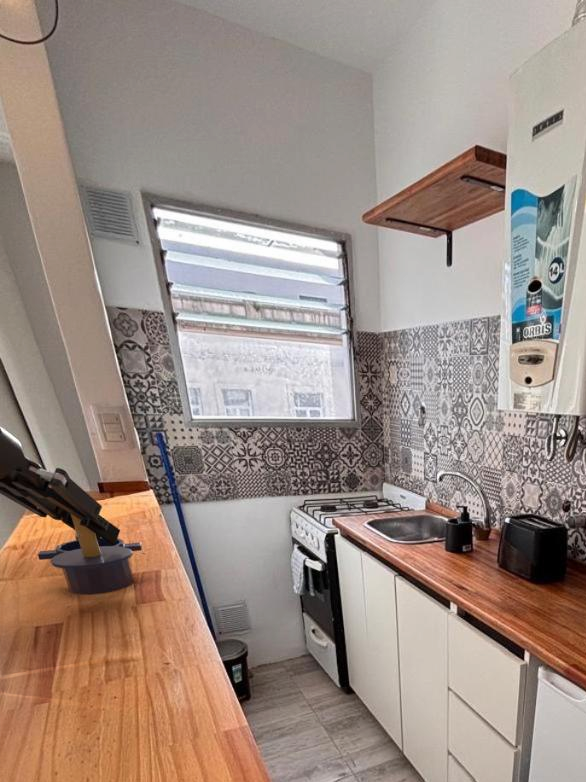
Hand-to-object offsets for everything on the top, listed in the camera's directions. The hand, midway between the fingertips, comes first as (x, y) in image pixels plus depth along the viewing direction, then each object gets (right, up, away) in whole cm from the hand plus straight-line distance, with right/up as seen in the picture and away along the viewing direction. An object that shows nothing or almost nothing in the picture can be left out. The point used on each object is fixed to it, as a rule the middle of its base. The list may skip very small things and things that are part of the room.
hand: (106, 536), depth 87 cm
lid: (-1, -4, -2) cm, 5 cm away
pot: (-9, -7, +12) cm, 17 cm away
